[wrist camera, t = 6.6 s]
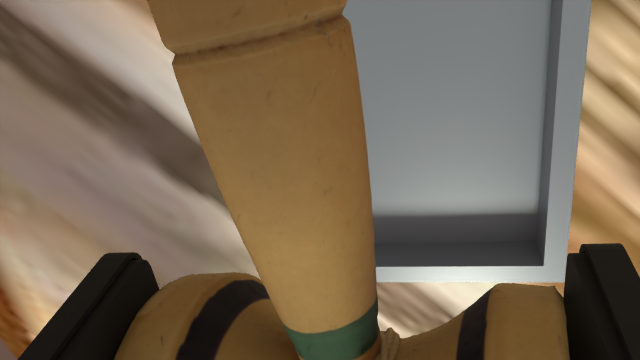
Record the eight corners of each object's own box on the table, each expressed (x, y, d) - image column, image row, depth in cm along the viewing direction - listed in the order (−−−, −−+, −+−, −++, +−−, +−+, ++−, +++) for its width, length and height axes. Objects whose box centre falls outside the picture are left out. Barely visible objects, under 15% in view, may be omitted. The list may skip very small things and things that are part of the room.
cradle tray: (552, 247, 29) (564, 282, 27) (298, 250, 32) (287, 281, 30) (602, -356, 18) (629, -390, 15) (197, -264, 21) (167, -280, 18)
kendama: (-18, -191, 9) (263, 554, 15) (-652, -519, 3) (221, 929, 9) (439, -327, 9) (547, 510, 14) (701, -1057, 3) (705, 883, 8)
